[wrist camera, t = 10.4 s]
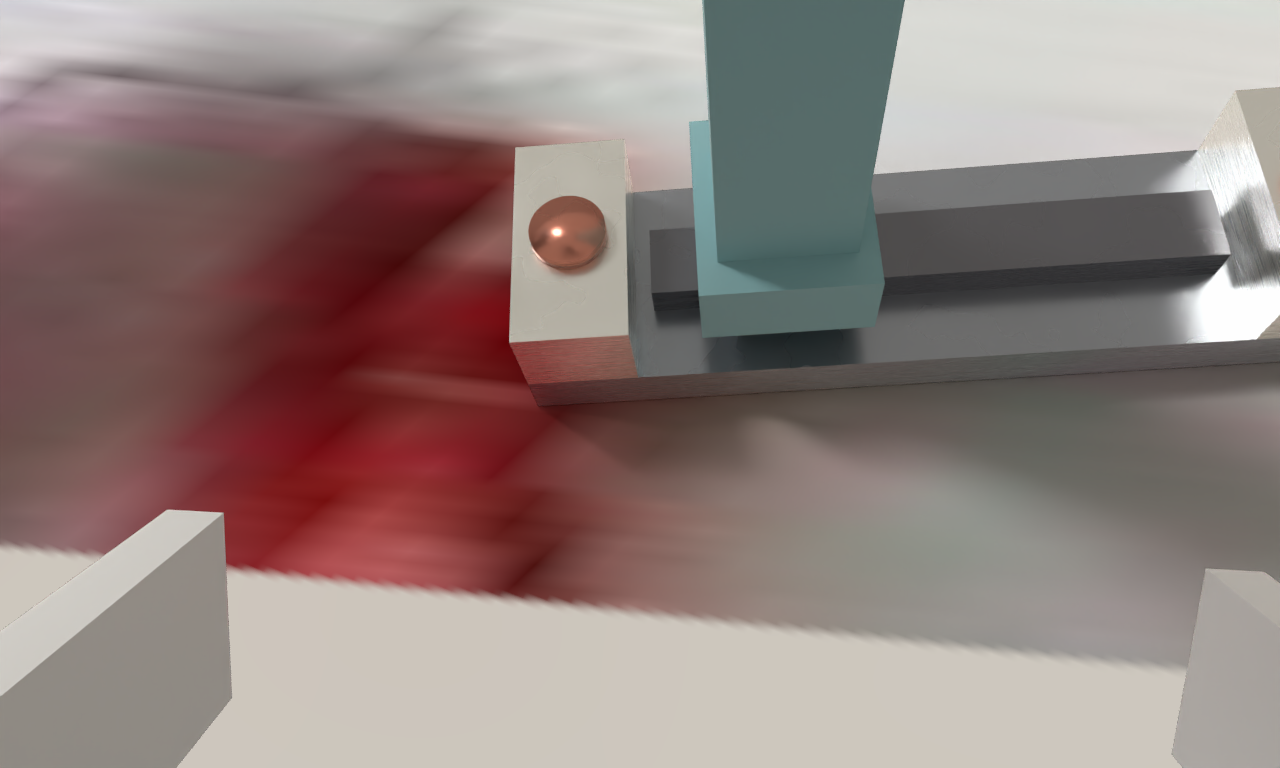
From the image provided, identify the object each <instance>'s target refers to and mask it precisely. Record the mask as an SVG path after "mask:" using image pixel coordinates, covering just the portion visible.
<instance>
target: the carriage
mask: <svg viewBox="0 0 1280 768" xmlns="http://www.w3.org/2000/svg"><path fill="white" fill-rule="evenodd" d="M904 1H905V0H702V5H703V24H704V43H705V61H706V80H707V98H708V117H709V120H706V121H694V122H689V128H690V146H691V165H692V183H693V202H694V220H695V239H696V257H697V275H698V294H699V306H700V317H701V329H702V338H710V337H725V336H741V335H756V334H772V333H787V332H803V331H818V330H834V329H849V328H865V327H875V323H876V319H877V315H878V310H879V306H880V302H881V298H882V293H883V289H884V285H885V281H884V274H883V267H882V260H881V253H880V246H879V239H878V232H877V224H876V217H875V210H874V203H873V196H872V189H871V184H872V179H873V173H874V167H875V162H876V156H877V151H878V145H879V140H880V134H881V129H882V123H883V118H884V112H885V107H886V101H887V95H888V90H889V84H890V79H891V73H892V68H893V62H894V57H895V51H896V46H897V40H898V35H899V29H900V23H901V18H902V12H903V7H904Z"/></svg>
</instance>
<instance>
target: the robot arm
mask: <svg viewBox="0 0 1280 768" xmlns="http://www.w3.org/2000/svg"><path fill="white" fill-rule="evenodd" d="M229 644H230V643H229V621H228V599H227V576H226V554H225V532H224V513H220V512H202V511H184V510H166V511H165V512H163V513H162V514H161V515H159V516H158V517H156V518H155V519H154V520H152V521H151V522H150V523H148V524H147V525H145V526H144V527H143V528H141V529H140V530H139V531H137V532H136V533H134V534H133V535H132V536H130V537H129V538H128V539H126V540H125V541H123V542H122V543H121V544H119V545H118V546H116V547H115V548H114V549H112V550H111V551H110V552H108V553H107V554H105V555H104V556H103V557H101V558H100V559H99V560H97V561H96V562H94V563H93V564H92V565H90V566H89V567H88V568H86V569H85V570H83V571H82V572H81V573H79V574H78V575H77V576H75V577H74V578H72V579H71V580H70V581H68V582H67V583H65V584H64V585H63V586H61V587H60V588H59V589H57V590H56V591H55V592H53V593H52V594H50V595H49V596H48V597H46V598H45V599H43V600H42V601H41V602H39V603H38V604H37V605H35V606H34V607H32V608H31V609H30V610H28V611H27V612H26V613H24V614H23V615H21V616H20V617H19V618H17V619H16V620H14V621H13V622H12V623H10V624H9V625H8V626H6V627H5V628H3V629H2V630H1V631H0V768H176V767H177V766H178V765H179V764H180V762H181V761H182V760H183V759H184V757H185V756H186V755H187V753H188V752H189V751H190V750H191V748H192V747H193V746H194V745H195V744H196V742H197V741H198V740H199V739H200V737H201V736H202V734H203V733H204V732H205V731H206V730H207V728H208V727H209V726H210V725H211V723H212V722H213V721H214V720H215V718H216V717H217V716H218V715H219V713H220V712H221V711H222V710H223V708H224V707H225V706H226V705H227V703H228V702H229V701H230V699H231V698H232V689H231V666H230V645H229ZM1172 755H1173V756H1174V758H1175V759H1176V760H1177V761H1178V762H1179V764H1180V765H1181V766H1182V768H1280V583H1279V582H1278V581H1276V580H1275V579H1274V578H1272V577H1271V576H1269V575H1268V574H1267V573H1265V572H1261V571H1243V570H1226V569H1208V568H1206V569H1205V575H1204V580H1203V586H1202V591H1201V597H1200V602H1199V608H1198V613H1197V619H1196V624H1195V630H1194V635H1193V640H1192V646H1191V651H1190V657H1189V662H1188V668H1187V673H1186V679H1185V684H1184V690H1183V695H1182V701H1181V706H1180V712H1179V717H1178V722H1177V728H1176V733H1175V739H1174V744H1173V750H1172Z"/></svg>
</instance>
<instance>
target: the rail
mask: <svg viewBox="0 0 1280 768" xmlns="http://www.w3.org/2000/svg"><path fill="white" fill-rule="evenodd" d="M871 189H872V196H873V203H874V210H875V217H876V224H877V232H878V239H879V246H880V253H881V260H882V267H883V274H884V281H885V285H884V289H883V293H882V298H881V302H880V306H879V310H878V315H877V319H876V323H875V327H865V328H849V329H834V330H818V331H803V332H787V333H772V334H756V335H741V336H725V337H710V338H702V329H701V317H700V306H699V294H698V275H697V257H696V239H695V220H694V202H693V188H688V189H675V190H661V191H648V192H635V193H633V187H632V181H631V175H630V170H629V164H628V158H627V152H626V146H625V140H624V139H619V140H606V141H593V142H581V143H568V144H555V145H543V146H530V147H518V148H515V176H514V207H513V237H512V268H511V299H510V329H509V344H510V346H511V348H512V350H513V352H514V354H515V357H516V359H517V361H518V363H519V365H520V368H521V370H522V372H523V374H524V376H525V378H526V381H527V383H528V385H529V387H530V389H531V392H532V394H533V396H534V398H535V400H536V402H537V405H538V406H550V405H567V404H583V403H600V402H617V401H633V400H650V399H667V398H683V397H700V396H717V395H733V394H750V393H766V392H783V391H800V390H816V389H833V388H850V387H866V386H883V385H900V384H916V383H933V382H950V381H966V380H983V379H999V378H1016V377H1033V376H1049V375H1066V374H1083V373H1099V372H1116V371H1133V370H1149V369H1166V368H1183V367H1199V366H1216V365H1232V364H1249V363H1266V362H1280V87H1276V88H1263V89H1250V90H1238V91H1235V92H1234V94H1233V95H1232V97H1231V98H1230V100H1229V102H1228V103H1227V105H1226V106H1225V108H1224V110H1223V111H1222V113H1221V114H1220V116H1219V117H1218V119H1217V121H1216V122H1215V124H1214V125H1213V127H1212V129H1211V130H1210V132H1209V133H1208V135H1207V137H1206V138H1205V140H1204V141H1203V143H1202V144H1201V146H1200V148H1199V149H1198V150H1193V151H1180V152H1167V153H1153V154H1140V155H1127V156H1113V157H1100V158H1087V159H1074V160H1060V161H1047V162H1034V163H1020V164H1007V165H994V166H980V167H967V168H954V169H941V170H927V171H914V172H901V173H887V174H874V175H873V179H872V184H871Z"/></svg>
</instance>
